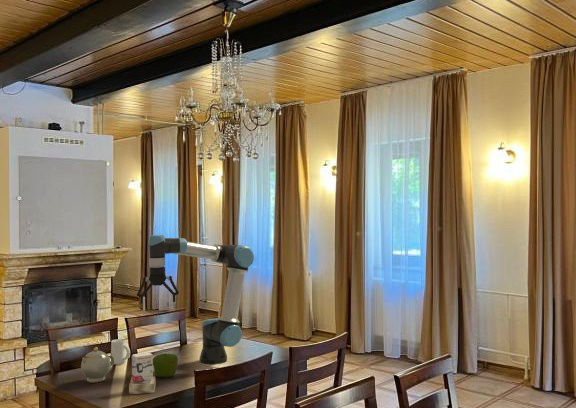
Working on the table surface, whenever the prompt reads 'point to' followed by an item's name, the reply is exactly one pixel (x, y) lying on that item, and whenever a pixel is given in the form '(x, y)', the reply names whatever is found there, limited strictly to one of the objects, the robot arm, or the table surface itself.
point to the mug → (119, 351)
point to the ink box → (142, 367)
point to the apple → (165, 365)
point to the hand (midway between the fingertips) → (158, 309)
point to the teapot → (96, 365)
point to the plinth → (142, 386)
